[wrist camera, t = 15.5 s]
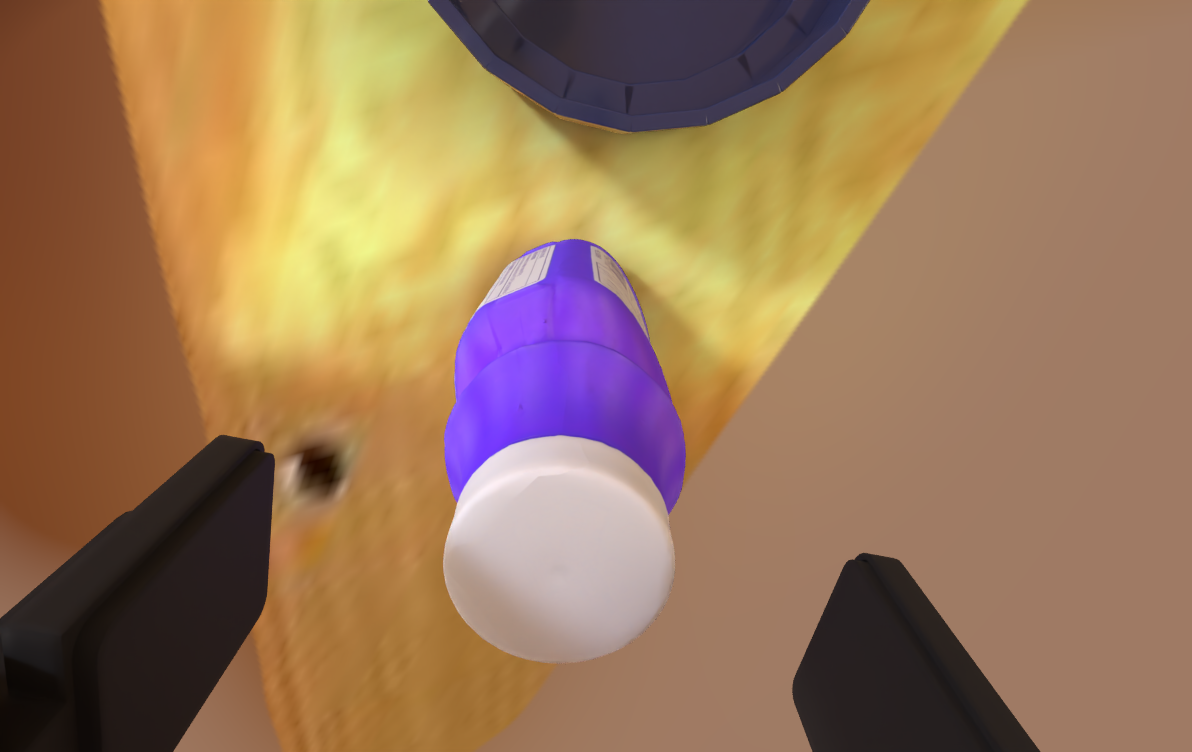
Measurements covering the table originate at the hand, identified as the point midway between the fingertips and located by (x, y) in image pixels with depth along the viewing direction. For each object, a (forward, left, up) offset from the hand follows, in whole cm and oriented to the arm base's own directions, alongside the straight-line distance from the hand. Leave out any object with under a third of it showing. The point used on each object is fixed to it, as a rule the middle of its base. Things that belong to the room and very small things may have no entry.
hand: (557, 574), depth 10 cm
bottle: (0, -1, -18) cm, 18 cm away
